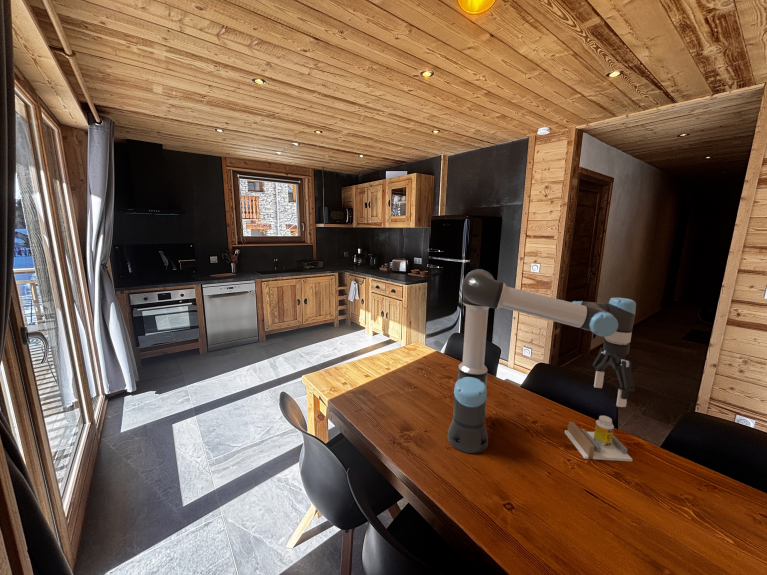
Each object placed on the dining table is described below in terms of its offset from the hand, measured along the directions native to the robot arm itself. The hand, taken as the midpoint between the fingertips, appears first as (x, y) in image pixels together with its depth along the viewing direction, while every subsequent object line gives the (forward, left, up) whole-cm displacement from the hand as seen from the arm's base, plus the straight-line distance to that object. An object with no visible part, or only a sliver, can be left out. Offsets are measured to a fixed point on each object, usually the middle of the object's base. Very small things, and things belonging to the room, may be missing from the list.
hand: (608, 396), depth 117 cm
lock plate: (-2, -1, -20) cm, 20 cm away
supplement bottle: (0, 0, -19) cm, 19 cm away
